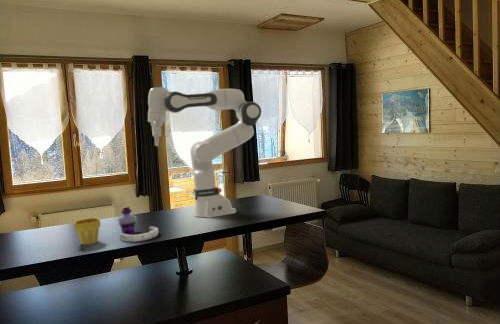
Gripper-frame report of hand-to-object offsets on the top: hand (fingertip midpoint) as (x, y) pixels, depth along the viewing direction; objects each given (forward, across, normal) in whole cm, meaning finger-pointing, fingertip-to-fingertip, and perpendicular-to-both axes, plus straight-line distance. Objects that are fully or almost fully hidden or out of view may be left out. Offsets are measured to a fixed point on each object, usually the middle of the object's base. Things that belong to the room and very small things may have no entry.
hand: (156, 145), depth 207 cm
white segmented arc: (+40, -32, +7) cm, 51 cm away
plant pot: (+42, -28, +29) cm, 58 cm away
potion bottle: (+41, -18, +13) cm, 46 cm away
